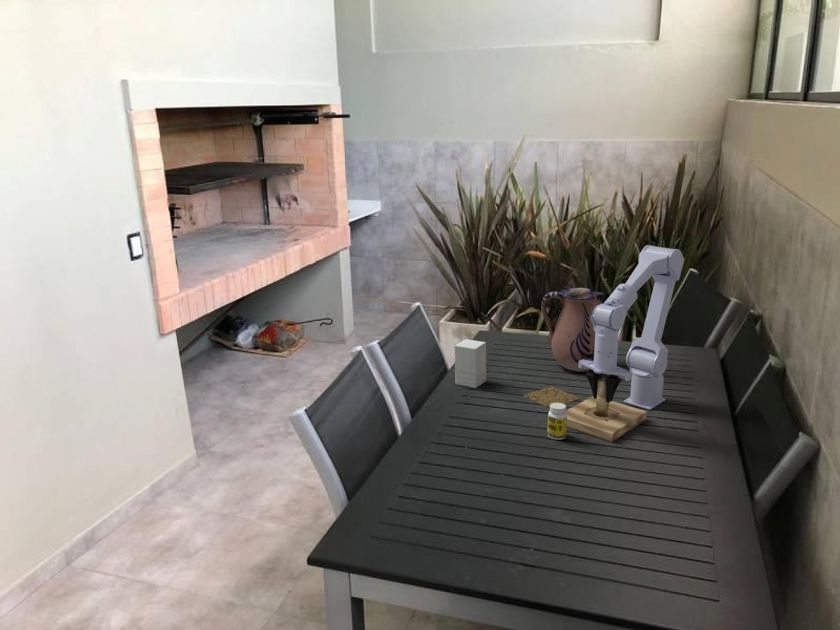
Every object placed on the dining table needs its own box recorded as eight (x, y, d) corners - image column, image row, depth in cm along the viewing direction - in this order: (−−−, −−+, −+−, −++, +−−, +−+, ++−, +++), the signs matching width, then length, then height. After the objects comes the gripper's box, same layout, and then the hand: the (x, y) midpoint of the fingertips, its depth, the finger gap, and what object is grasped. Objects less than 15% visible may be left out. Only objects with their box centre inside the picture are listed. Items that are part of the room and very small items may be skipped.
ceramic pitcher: (612, 376, 213) (617, 298, 206) (544, 377, 213) (547, 300, 206) (599, 357, 229) (603, 285, 222) (536, 358, 230) (538, 286, 223)
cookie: (582, 400, 197) (582, 397, 197) (552, 410, 190) (552, 407, 190) (552, 387, 206) (552, 384, 206) (522, 397, 200) (522, 394, 199)
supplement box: (486, 380, 211) (487, 342, 208) (475, 388, 205) (475, 348, 202) (465, 376, 215) (465, 338, 212) (454, 384, 209) (453, 345, 206)
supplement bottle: (544, 438, 173) (545, 407, 171) (550, 430, 177) (551, 400, 175) (563, 441, 171) (564, 410, 169) (568, 434, 175) (570, 403, 173)
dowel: (600, 405, 183) (602, 377, 181) (611, 408, 181) (612, 380, 178) (593, 408, 181) (595, 380, 179) (603, 412, 179) (605, 383, 176)
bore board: (593, 403, 193) (593, 395, 193) (646, 419, 182) (646, 411, 182) (556, 423, 181) (557, 415, 180) (611, 442, 170) (611, 433, 170)
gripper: (572, 348, 178) (570, 396, 182) (623, 360, 169) (620, 411, 172) (587, 341, 183) (585, 389, 187) (637, 353, 173) (634, 403, 177)
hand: (602, 399), depth 180 cm, fingers closed on dowel, 3 cm apart
